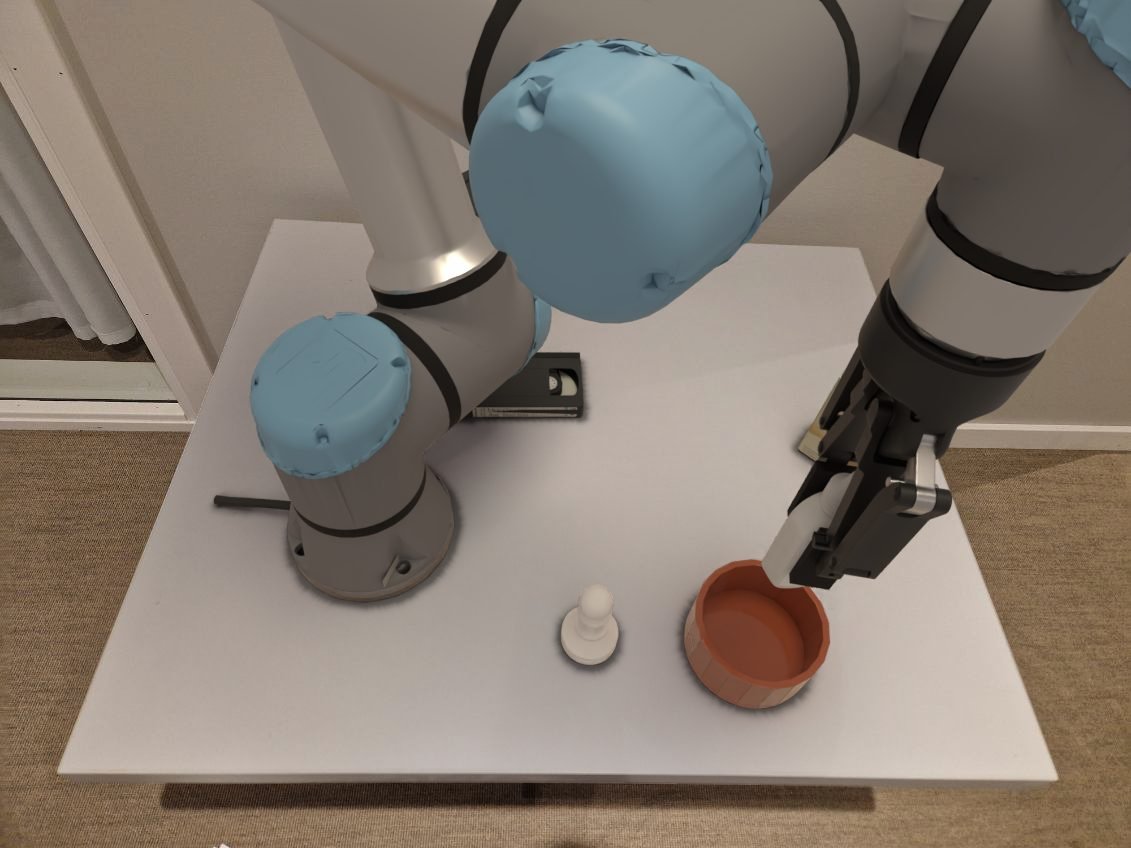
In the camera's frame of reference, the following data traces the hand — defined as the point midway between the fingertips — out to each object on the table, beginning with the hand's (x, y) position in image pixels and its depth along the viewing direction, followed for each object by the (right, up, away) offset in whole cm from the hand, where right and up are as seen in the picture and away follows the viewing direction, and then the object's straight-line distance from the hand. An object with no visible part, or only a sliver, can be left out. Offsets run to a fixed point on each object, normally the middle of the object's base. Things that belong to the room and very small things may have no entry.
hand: (807, 548), depth 52 cm
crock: (-1, -11, +13) cm, 17 cm away
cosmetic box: (+12, +5, +27) cm, 30 cm away
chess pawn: (-15, -10, +13) cm, 23 cm away
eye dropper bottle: (0, -2, +2) cm, 3 cm away
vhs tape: (-23, +13, +30) cm, 40 cm away
